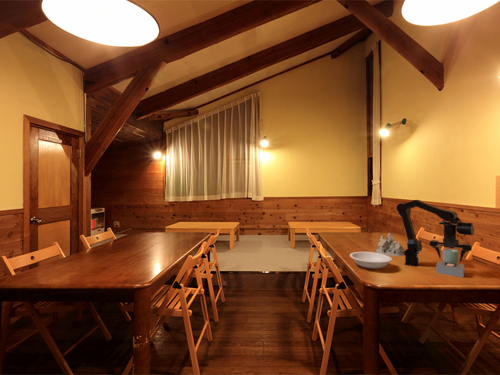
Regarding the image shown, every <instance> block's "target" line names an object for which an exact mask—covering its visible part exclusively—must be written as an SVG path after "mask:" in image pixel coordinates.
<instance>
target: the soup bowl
mask: <svg viewBox="0 0 500 375" xmlns="http://www.w3.org/2000/svg"><path fill="white" fill-rule="evenodd" d="M349 258H352V259H353V261H354V262H355V263H356V264H357V265H358V266H360V267H362V268H367V269H376V270H377V269H382V268H384V267H386V266H387V265H388V264H389V263H390V262H392V261H393V258H392V257H391V255H385V254H380V253H377V252H376V251H375V252H374V251H355V252H351V253H350V254H349Z"/></svg>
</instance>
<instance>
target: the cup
mask: <svg viewBox="0 0 500 375" xmlns="http://www.w3.org/2000/svg"><path fill="white" fill-rule="evenodd" d="M442 261H444V262H450V263H457V264H460V263H459V262H460V251H459V250H457V249H454V248H443V249H442Z"/></svg>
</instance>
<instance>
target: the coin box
mask: <svg viewBox="0 0 500 375" xmlns="http://www.w3.org/2000/svg"><path fill="white" fill-rule="evenodd" d="M448 263H449V264H454V266H448V265H447V264H448ZM435 266H436V268H435V269H436V273H437V274H439V275H440V274H441V275H447V276H453V277H458V278H464V277H465V264H463V263H458V264H457V263H450V262H444V261H443V260H438V261H437V262H436V265H435Z"/></svg>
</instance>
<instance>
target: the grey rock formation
mask: <svg viewBox="0 0 500 375" xmlns="http://www.w3.org/2000/svg"><path fill="white" fill-rule="evenodd" d="M404 251H405V248H404V247H403V246H402V244H401V242H400V241H396V240H395V238H394V236H393V235H392V234H391V232H388V234H387V235H386V237H385V238H384V235H380V239H379V242H378V243H377V248H376V251H375V253H380V254H385V255H388V256H392V257H403V256H404ZM404 257H405V256H404Z"/></svg>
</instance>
